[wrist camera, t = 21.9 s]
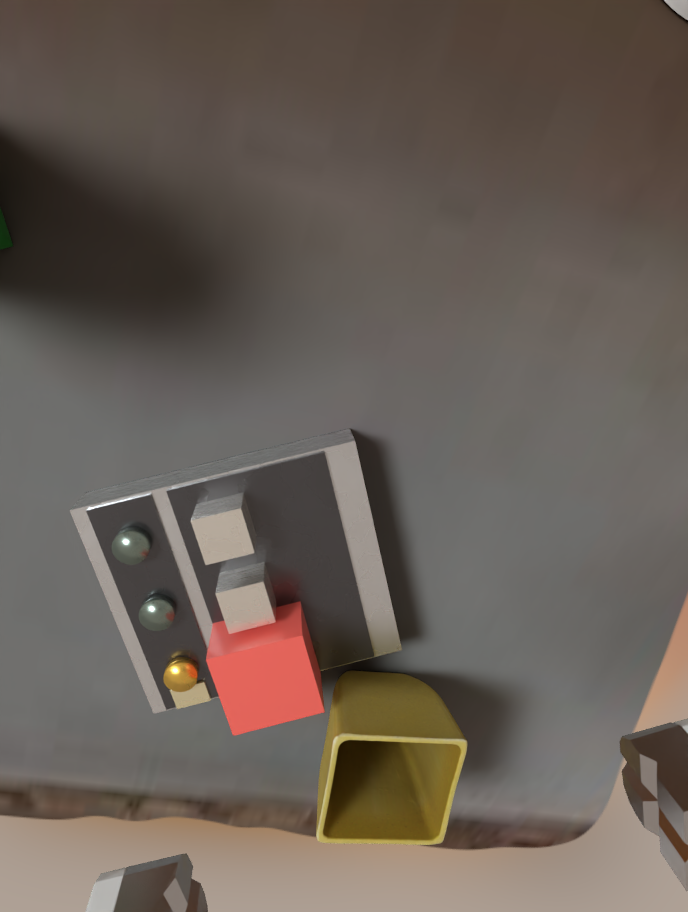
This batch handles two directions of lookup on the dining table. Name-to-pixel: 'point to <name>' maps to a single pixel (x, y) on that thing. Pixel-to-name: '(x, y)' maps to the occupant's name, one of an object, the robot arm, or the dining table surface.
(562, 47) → the dining table surface
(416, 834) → the flower pot
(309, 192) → the dining table surface
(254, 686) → the cap
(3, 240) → the milk carton
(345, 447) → the breaker panel
